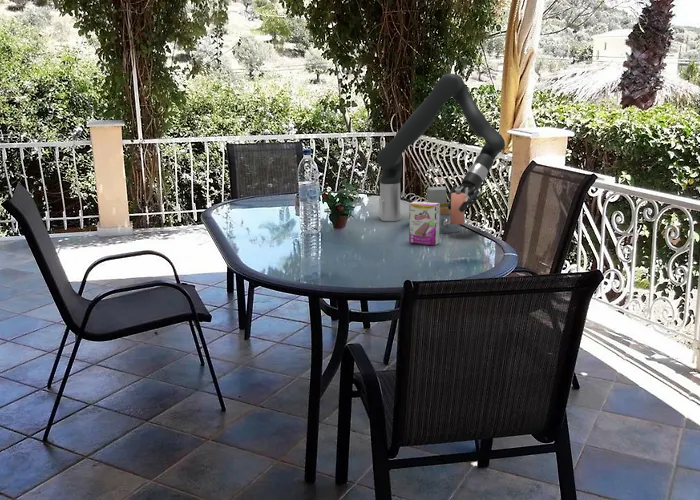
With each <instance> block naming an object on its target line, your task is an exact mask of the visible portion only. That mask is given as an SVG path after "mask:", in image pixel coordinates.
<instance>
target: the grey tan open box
mask: <svg viewBox="0 0 700 500" xmlns="http://www.w3.org/2000/svg"><path fill="white" fill-rule="evenodd" d="M448 203H449V202H447V203H440V215H439V234H448V233H450V234H451V233H459V224H451V223H450V216H451V210H450V209H448V207H447V205H448Z"/></svg>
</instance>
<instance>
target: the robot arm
mask: <svg viewBox="0 0 700 500" xmlns="http://www.w3.org/2000/svg"><path fill="white" fill-rule="evenodd" d="M465 83H466V82H465V81H464V80H463V78H462V76H461V75H459V74H457V73H446V74H444V75H443V76H441V77H440V79H439V80H438V81H437V83H436V84H435V86H434V87H433V89H432V91H430V92H429V95H428V96H427V97H426V98H425V99H424V100H423V101H422V103H420V105H419V106H417V108H416V109H415V110H414V111H413V113H412V114H411V115H410V116H409V117H408V118H407V119H406V121H405V122H404V124H403V125H401V127H400V129H399V130H398V132H397V133H396V134H395V136H394V137H393V138H392V139H391V140H390V141H389V142H388V143H387V144H386V145H385V146H384V147H382V149H380V150H379V151H378V154H377V156H376V157H377V159H376V161H377V164H378V166H379V167H380V168H382V171H381V175H380V177H379V194H380V195H379V198H378V205H379V207H378V209H379V211H378V214H379V215H378V216H379V220H380V221H381V222H397V221H400V220H401V215H402V214H401V178H402V172H403V169H402V168H403V165H402V164H403V156H402V154H403V153H404V152H405V150H406V149H408V147H409V146H411V145H412V144H413V143H415V142H416V141H417V140H418V139H419V138H420V137H422V135H424V133H426V131H427V130H428V129H429V128H430V127H431V125H432V124H433V123H434V120H435V119H436V116H437V115H438V113H439V111H440V109H441V108H442V106H443V105H445V103H447V101H449V99H450V98H452V99H453V100H454V101H455V102H456V103H457V105H458V106H459V107H460V109H461V112H462V114H463V115H464V117H465V120H466V123H467V124H468V125H469V128H471V130H472V131H473V133H474V134H475V135H476V137H478V138H483V140H484V141H485V143H484V145H483V146H482V148H481V150H480V153H479V154H478V156H477V157H476V159H475V161H474V162H473V164H472V165H471V166H470V167H469V168H468V170H467V172H466V174H465V176H464V177H463V178H462V180H461V183H460V185H459V186H456V185H452V187H451V190H449V191H450V192H449V193H448V196H447V198H449V202H447V203H448V205H447V207H448V209H450V210H451V193H456V189H461V193H465V200H464V202H463V203H462V205H461V206H460V208H459V210H460V212H463V211H466V209H467V207H468V206H470V205H472V206H473V205H475V203H476V202H477V200H478V199H479V198H480V197H481V196H482V193H481V191H479V190H480V187H481V186H482V184H483V183H484V181H485V179H486V177H487V176H488V173H489V171H490V170H491V168H492V166H493V165H494V161H495V160H496V157H497V156H498V155H499V154H500V153H501V152H502V151H503V150H504V149H505V147H506V141H505V139H504V137H503V136H502V134H501V133H500V132H498V130H497V129H495V128H494V127H493V126H492V125H491V124H490V122H489V121H488V120H487V118H486V116H485V115H484V114H483V113H482V111H481V110H480V109H479V107H478V105H477V104H476V102H475V101H474V99H473V97H472V95H471V94H470V92H469V89H468V88H467V86H466V84H465Z"/></svg>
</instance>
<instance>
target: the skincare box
mask: <svg viewBox="0 0 700 500" xmlns="http://www.w3.org/2000/svg"><path fill="white" fill-rule="evenodd" d="M427 202H429V203H448V202H447V187H446V185H445V186H427Z"/></svg>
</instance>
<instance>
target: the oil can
mask: <svg viewBox="0 0 700 500" xmlns="http://www.w3.org/2000/svg"><path fill="white" fill-rule="evenodd" d="M464 200H465V193H461V189H456V193H451V216H450V223H451V224H458V225H464V224H465V211H466V210H465V211H463V212H460V210H459V208H460V206H461V205H462V203H463V202H464Z"/></svg>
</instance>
